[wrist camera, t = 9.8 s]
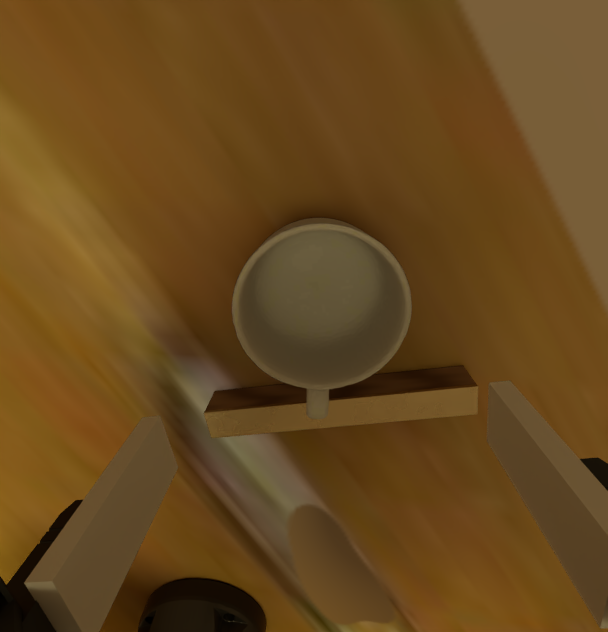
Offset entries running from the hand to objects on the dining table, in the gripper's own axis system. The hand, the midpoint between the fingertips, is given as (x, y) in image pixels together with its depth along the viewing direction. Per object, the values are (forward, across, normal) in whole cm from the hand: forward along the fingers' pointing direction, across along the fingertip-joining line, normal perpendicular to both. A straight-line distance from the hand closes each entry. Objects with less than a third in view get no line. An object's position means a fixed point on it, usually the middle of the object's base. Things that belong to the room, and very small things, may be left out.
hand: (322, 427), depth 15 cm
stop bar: (+16, 0, +9) cm, 19 cm away
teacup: (+16, 0, 0) cm, 17 cm away
